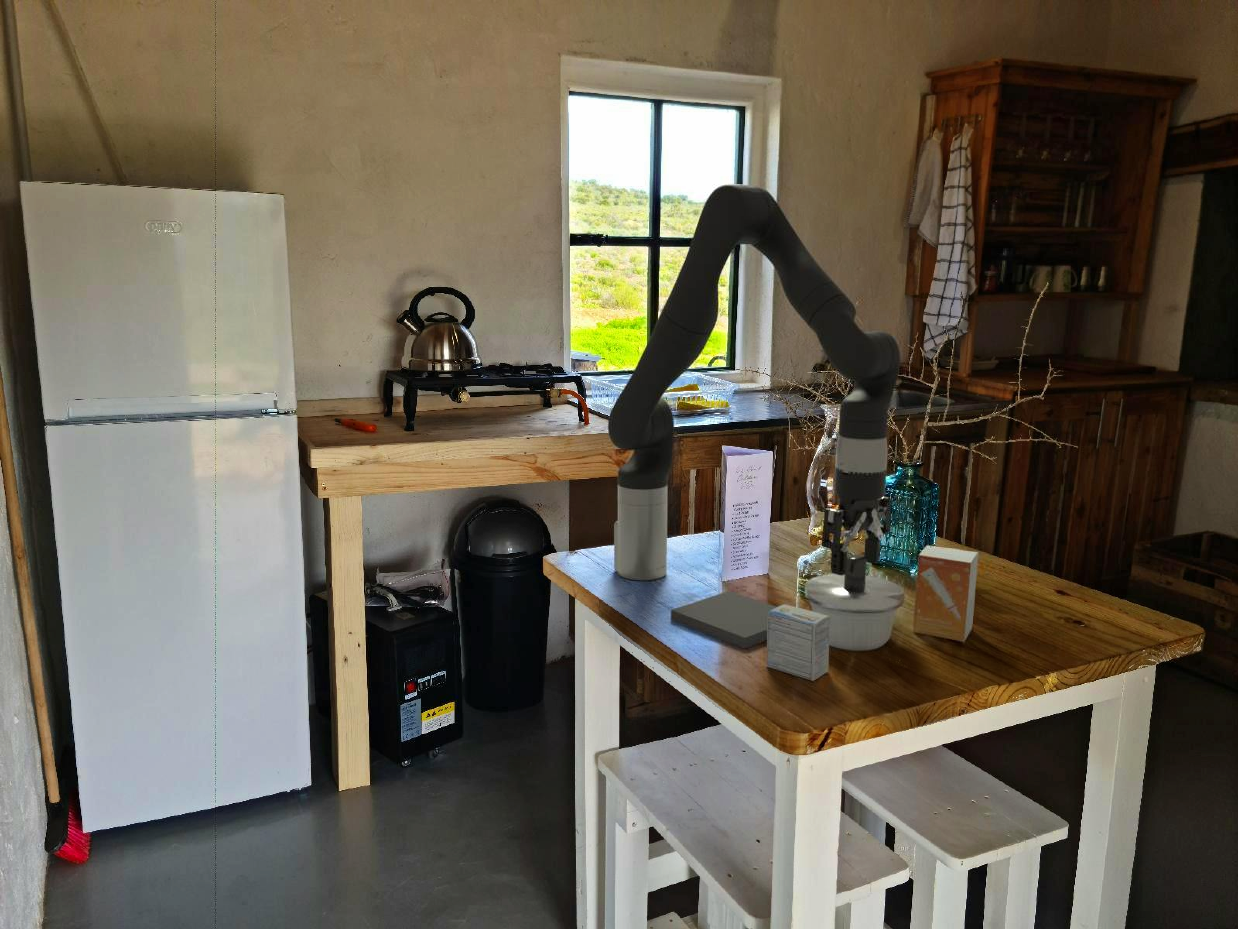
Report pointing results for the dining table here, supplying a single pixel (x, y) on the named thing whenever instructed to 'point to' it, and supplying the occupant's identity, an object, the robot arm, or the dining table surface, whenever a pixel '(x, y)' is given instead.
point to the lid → (854, 590)
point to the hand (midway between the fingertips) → (854, 568)
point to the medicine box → (798, 641)
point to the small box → (945, 592)
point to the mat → (727, 618)
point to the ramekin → (857, 628)
